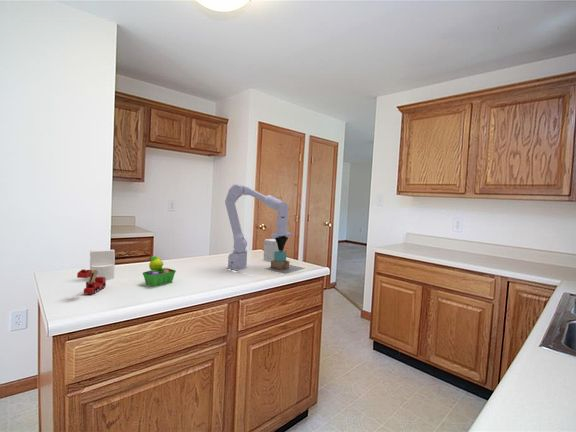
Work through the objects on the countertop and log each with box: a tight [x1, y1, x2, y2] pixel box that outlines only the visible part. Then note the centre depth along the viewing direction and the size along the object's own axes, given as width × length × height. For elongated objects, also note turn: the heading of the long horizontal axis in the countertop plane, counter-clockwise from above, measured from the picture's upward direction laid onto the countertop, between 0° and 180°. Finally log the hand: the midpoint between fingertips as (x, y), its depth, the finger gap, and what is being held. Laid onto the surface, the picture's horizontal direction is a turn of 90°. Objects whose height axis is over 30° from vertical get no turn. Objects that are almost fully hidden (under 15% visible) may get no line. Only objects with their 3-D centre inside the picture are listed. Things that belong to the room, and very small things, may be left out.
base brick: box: [270, 259, 290, 271], centre depth 162 cm, size 7×7×4 cm
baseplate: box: [264, 264, 306, 275], centre depth 162 cm, size 18×14×1 cm
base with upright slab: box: [89, 249, 116, 281], centre depth 131 cm, size 9×9×12 cm
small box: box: [263, 238, 279, 263], centre depth 181 cm, size 8×6×13 cm
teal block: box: [274, 250, 287, 262], centre depth 162 cm, size 4×4×5 cm
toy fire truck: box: [76, 269, 107, 295], centre depth 113 cm, size 3×14×10 cm, turn 5°
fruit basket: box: [142, 255, 177, 288], centre depth 128 cm, size 11×9×11 cm
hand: (280, 250), depth 161 cm, fingers closed
